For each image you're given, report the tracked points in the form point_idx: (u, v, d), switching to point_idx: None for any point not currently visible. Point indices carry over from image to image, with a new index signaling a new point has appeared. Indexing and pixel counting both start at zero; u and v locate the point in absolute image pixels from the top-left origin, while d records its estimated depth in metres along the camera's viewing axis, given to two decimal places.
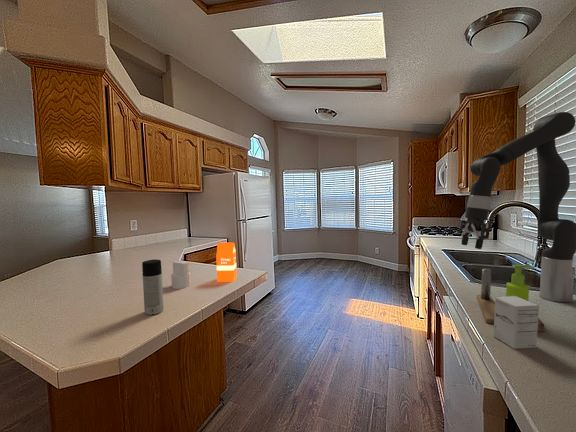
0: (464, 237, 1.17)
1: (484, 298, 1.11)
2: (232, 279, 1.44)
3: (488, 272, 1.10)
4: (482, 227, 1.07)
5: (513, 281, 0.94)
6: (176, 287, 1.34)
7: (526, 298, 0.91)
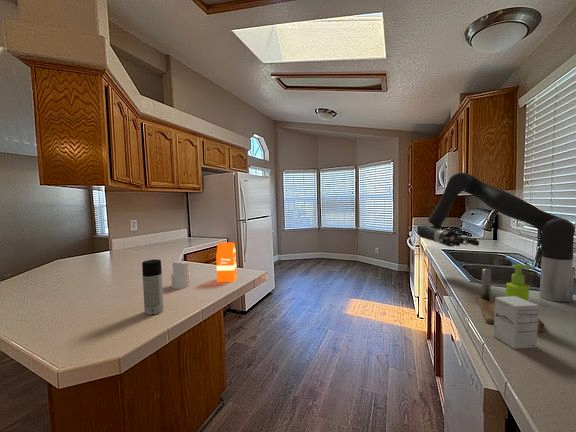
0: (472, 243, 1.25)
1: (484, 298, 1.11)
2: (232, 279, 1.44)
3: (488, 272, 1.10)
4: (442, 242, 1.29)
5: (513, 281, 0.94)
6: (176, 287, 1.34)
7: (526, 298, 0.91)
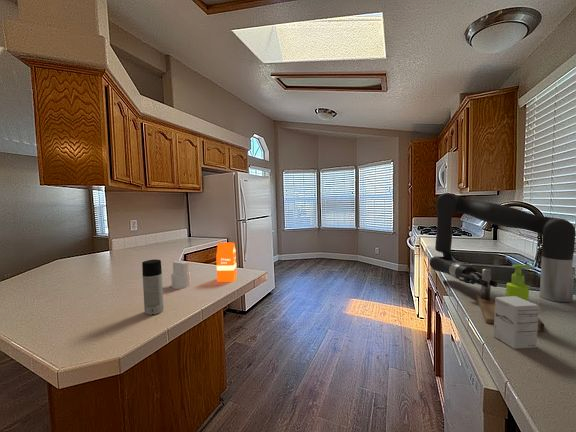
0: None
1: (484, 298, 1.11)
2: (232, 279, 1.44)
3: (488, 272, 1.10)
4: None
5: (513, 281, 0.94)
6: (176, 287, 1.34)
7: (526, 298, 0.91)
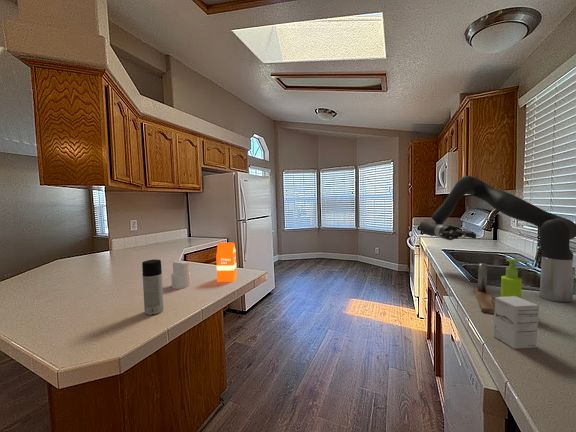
0: (469, 236, 1.33)
1: (481, 290, 1.20)
2: (232, 279, 1.44)
3: (484, 266, 1.18)
4: (442, 236, 1.39)
5: (507, 274, 1.01)
6: (176, 287, 1.34)
7: (519, 290, 0.99)
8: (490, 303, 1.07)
